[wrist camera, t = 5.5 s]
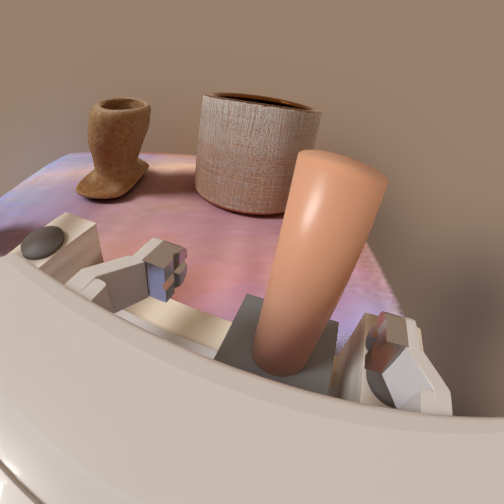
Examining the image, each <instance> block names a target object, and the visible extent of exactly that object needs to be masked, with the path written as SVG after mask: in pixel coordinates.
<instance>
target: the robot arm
mask: <svg viewBox="0 0 504 504" xmlns="http://www.w3.org/2000/svg"><path fill="white" fill-rule="evenodd" d="M186 257H187V250H186V248H184V247H181V246H178V245H176V244H173V243H170V242H168V241H164V240H162V239H159V238H156V237H155V238H152V239H151V240H150V241H149V242H147V243H146V244H145V245H144V246H143V247H142V248H141V249H140V250H138V251H137V252H136V253H135V254H134V255H133V256H125V257H122V258H118V259H115V260H111V261H108V262H104V263H101V264H97V265H94V266H90V267H87V268H83V269H81V270H80V271H79V272H78V273H76V274H75V275H74V276H73V277H72V278H71V279H70V280H69V281H68V282H67V283H65V284H62V283H61V282H59V281H57V280H56V279H54V278H53V277H51V276H50V275H48V274H47V273H45V272H44V271H42V270H41V269H39V268H38V267H36V266H35V265H34V264H32V263H31V262H29V261H28V260H27V259H25V258H24V257H22V256H21V255H19V254H16V253H13V254H8V255H5V256H2V257H0V504H504V417H464V416H453V415H452V403H451V394H450V391H449V389H448V387H447V386H446V384H445V383H444V381H443V380H442V379H441V377H440V375H439V374H438V372H437V371H436V369H435V368H434V366H433V365H432V363H431V362H430V361H429V359H428V358H427V356H426V355H425V353H424V352H423V351H421V350H420V346H419V339H418V333H417V327H416V322H415V321H414V320H413V319H409V318H406V317H401V316H397V315H394V314H391V313H387V312H384V311H382V312H381V313H380V314H379V316H378V317H377V323H376V324H374V325H372V326H371V328H370V330H369V332H368V334H367V337H366V342H365V347H366V349H367V350H368V352H367V354H366V355H365V366H364V369H367V370H371V371H375V372H378V373H382V376H383V378H384V380H385V383H386V385H387V387H388V389H389V392H390V394H391V396H392V399H393V401H394V403H395V406H396V408H397V409H391V408H385V407H379V406H373V405H368V404H363V403H358V402H353V401H349V400H344V399H340V398H335V397H331V396H327V395H323V394H319V393H315V392H311V391H308V390H304V389H301V388H297V387H293V386H290V385H287V384H283V383H280V382H277V381H274V380H270V379H267V378H264V377H261V376H258V375H255V374H252V373H249V372H246V371H243V370H241V369H238V368H235V367H232V366H230V365H227V364H224V363H222V362H219V361H216V360H214V359H211V358H209V357H206V356H204V355H201V354H199V353H196V352H194V351H192V350H189V349H187V348H185V347H182V346H180V345H178V344H175V343H173V342H171V341H169V340H166V339H164V338H162V337H160V336H158V335H156V334H154V333H151V332H149V331H147V330H145V329H143V328H141V327H139V326H137V325H135V324H133V323H131V322H129V321H127V320H125V319H123V318H121V317H119V316H118V315H116V314H114V313H117V312H119V311H121V310H123V309H125V308H127V307H129V306H131V305H133V304H135V303H137V302H140V301H142V300H144V299H146V298H148V297H149V296H150V297H153V298H155V299H158V300H160V301H163V302H165V303H167V302H168V300H169V299H170V298H171V296H172V295H173V294H174V288H176V287H178V286H180V285H181V284H182V282H183V281H184V278H185V276H186V272H187V265H186V263H185V261H184V260H185V259H186Z"/></svg>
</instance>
